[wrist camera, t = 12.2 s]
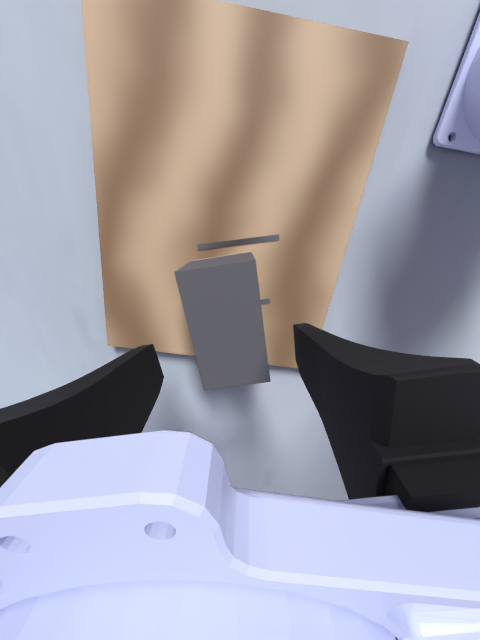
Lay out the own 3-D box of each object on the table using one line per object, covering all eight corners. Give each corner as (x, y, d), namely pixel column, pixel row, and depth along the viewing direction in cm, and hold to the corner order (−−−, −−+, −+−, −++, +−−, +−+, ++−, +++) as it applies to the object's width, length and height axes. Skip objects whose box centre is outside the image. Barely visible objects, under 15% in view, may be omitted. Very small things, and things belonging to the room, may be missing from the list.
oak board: (394, 56, 14) (409, 41, 13) (305, 362, 22) (309, 370, 21) (93, -8, 13) (78, -31, 12) (114, 339, 21) (107, 345, 20)
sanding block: (250, 251, 17) (255, 259, 12) (262, 346, 20) (270, 381, 15) (191, 260, 17) (174, 272, 13) (211, 353, 20) (204, 390, 15)
